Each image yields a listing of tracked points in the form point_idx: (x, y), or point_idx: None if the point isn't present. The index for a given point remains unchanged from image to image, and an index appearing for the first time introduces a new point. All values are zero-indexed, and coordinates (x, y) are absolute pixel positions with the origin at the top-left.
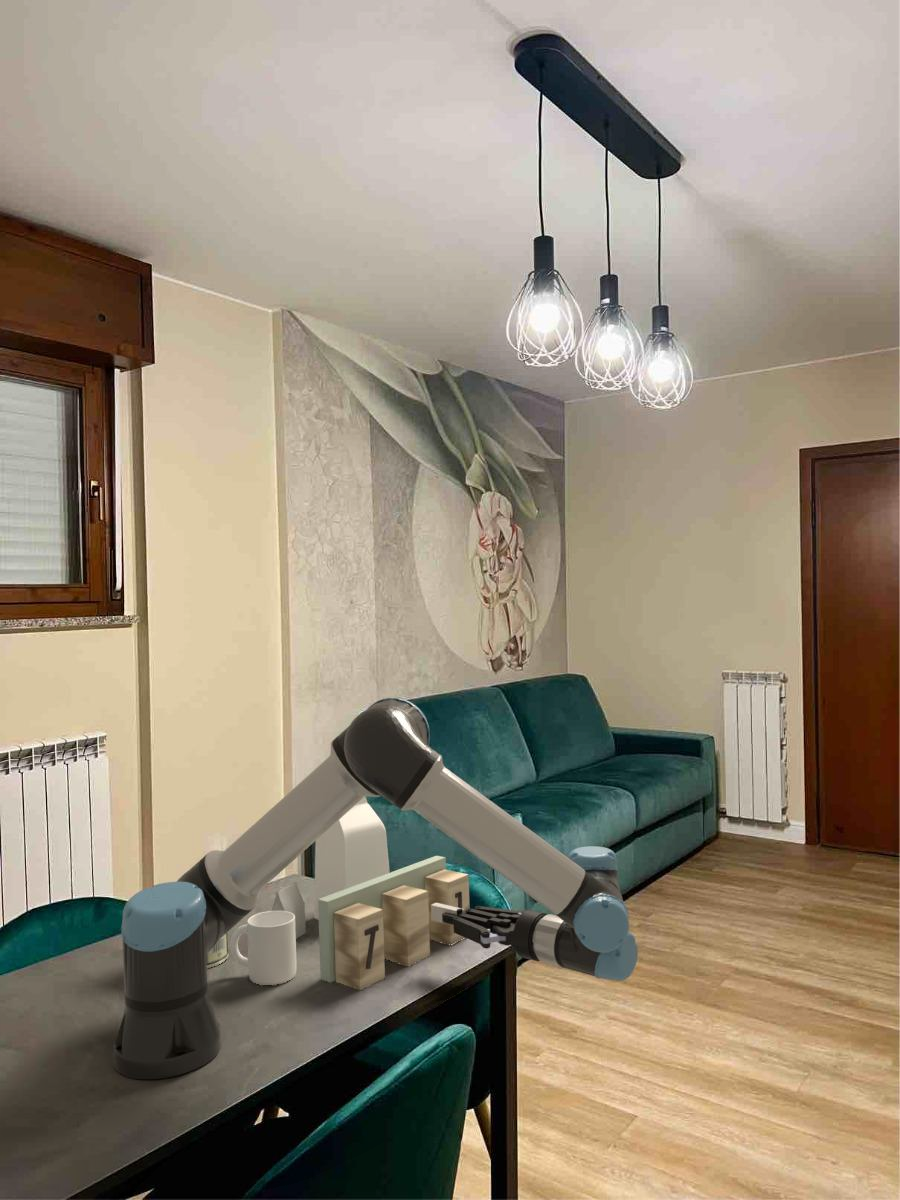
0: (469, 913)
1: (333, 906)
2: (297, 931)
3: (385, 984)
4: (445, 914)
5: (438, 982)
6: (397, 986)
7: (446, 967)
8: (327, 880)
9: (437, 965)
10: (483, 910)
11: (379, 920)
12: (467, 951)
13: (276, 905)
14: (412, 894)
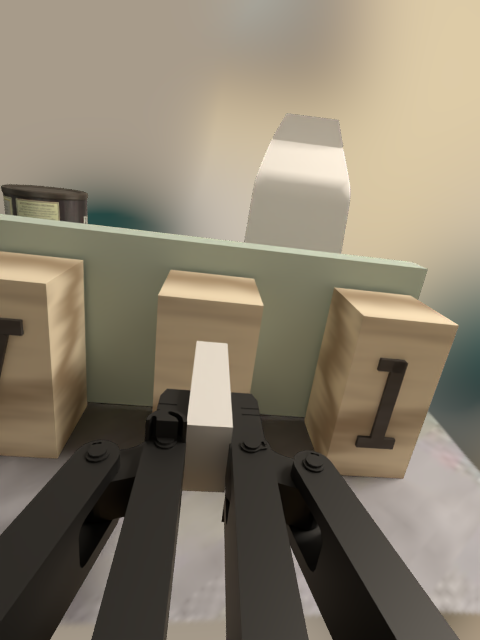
0: (230, 466)
1: (1, 237)
2: None
3: (15, 478)
4: (165, 399)
5: (73, 602)
6: (5, 509)
7: (202, 546)
8: None
9: (199, 516)
10: (313, 505)
11: (31, 310)
12: None
13: None
14: (209, 294)
